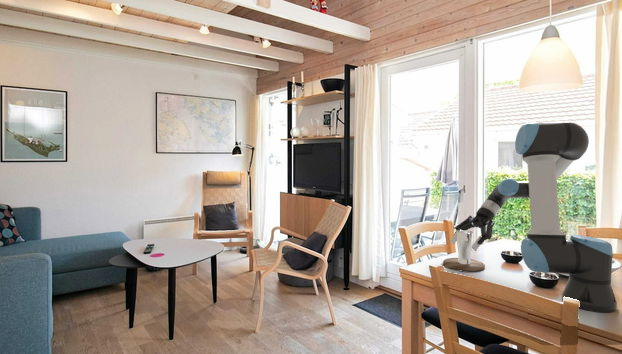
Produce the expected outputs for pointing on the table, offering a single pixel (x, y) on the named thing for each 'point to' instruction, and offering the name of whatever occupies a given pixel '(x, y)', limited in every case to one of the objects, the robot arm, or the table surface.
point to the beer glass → (464, 246)
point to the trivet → (454, 265)
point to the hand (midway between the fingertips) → (462, 245)
